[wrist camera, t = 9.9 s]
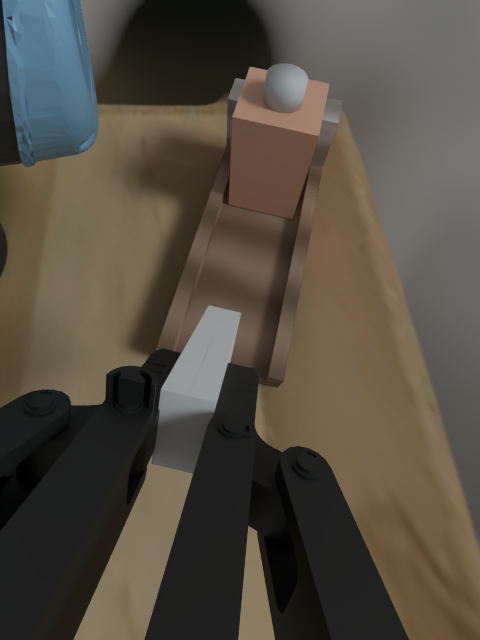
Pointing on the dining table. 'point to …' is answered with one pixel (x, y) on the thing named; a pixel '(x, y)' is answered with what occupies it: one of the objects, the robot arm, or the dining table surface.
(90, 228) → the dining table surface
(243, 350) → the track
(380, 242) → the dining table surface
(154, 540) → the dining table surface
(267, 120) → the block
